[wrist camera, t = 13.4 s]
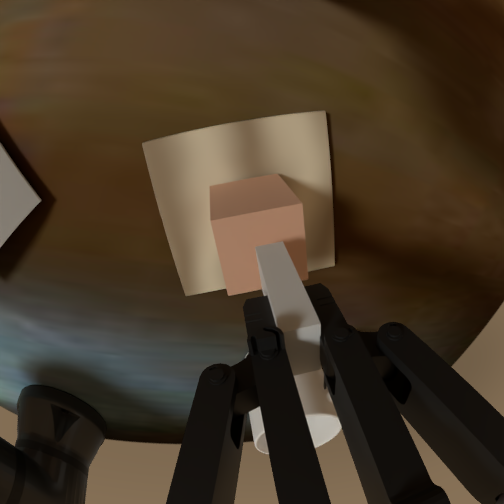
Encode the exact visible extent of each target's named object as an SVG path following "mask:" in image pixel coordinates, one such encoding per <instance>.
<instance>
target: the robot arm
mask: <svg viewBox="0 0 504 504" xmlns="http://www.w3.org/2000/svg"><path fill="white" fill-rule="evenodd" d="M255 250H256V256H257V262H258V268H259V274H260V280H261V286H262V290H263V294H264V296H262V297H257V298H252V299H247V300H246V301H245V304H244V306H243V311H244V316H245V322H246V328H247V334H248V339H247V343H248V347H249V353H248V355H247V356H246V358H245V359H244V360H242V361H241V362H239V363H238V364H235V365H233V366H231V367H230V366H228V365H227V364H221V363H220V364H213V365H211V366H209V367H207V368H206V369H205V370H204V371H203V372H202V374H201V376H200V378H199V382H198V386H197V389H196V393H195V396H194V400H193V404H192V407H191V411H190V415H189V418H188V422H187V426H186V430H185V433H184V437H183V441H182V444H181V448H180V452H179V456H178V460H177V463H176V467H175V471H174V475H173V479H172V482H171V486H170V490H169V494H168V498H167V502H166V504H234V500H235V493H236V487H237V481H238V473H239V467H240V461H241V454H242V446H243V440H244V434H245V427H246V420H247V413H248V412H250V411H252V410H254V409H256V408H258V407H260V410H261V415H262V420H263V425H264V431H265V436H266V441H267V446H268V451H269V456H270V462H271V467H272V472H273V477H274V481H275V487H276V491H277V496H278V501H279V504H331V502H330V499H329V495H328V492H327V488H326V485H325V482H324V478H323V475H322V471H321V468H320V464H319V461H318V457H317V454H316V450H315V447H314V444H313V440H312V437H311V433H310V430H309V426H308V423H307V420H306V416H305V413H304V409H303V406H302V403H301V399H300V396H299V392H298V389H297V386H296V382H295V379H294V376H295V375H300V374H304V373H308V372H312V371H316V370H320V369H321V364H322V367H323V369H324V384H323V386H324V389H326V387H327V388H328V391H329V394H330V397H331V399H332V402H333V405H334V408H335V410H336V413H337V416H338V419H339V421H340V424H341V427H342V430H343V432H344V435H345V438H346V441H347V444H348V446H349V449H350V452H351V455H352V458H353V461H354V464H355V466H356V470H357V472H358V475H359V478H360V481H361V484H362V487H363V490H364V493H365V496H366V499H367V502H368V504H450V501H449V499H448V496H447V495H446V493H445V491H444V490H443V489H442V488H441V487H440V486H437V485H435V484H434V483H433V482H432V480H431V479H430V476H429V474H428V472H427V470H426V467H425V465H424V463H423V461H422V459H421V456H420V454H419V452H418V450H417V448H416V445H415V444H414V441H413V439H412V437H411V435H410V433H409V431H408V429H407V427H406V425H405V422H404V420H403V418H402V416H401V414H402V415H403V416H404V418H405V419H406V420H407V421H408V422H409V423H410V424H411V426H412V427H413V428H414V429H415V430H416V431H417V433H418V434H419V435H420V436H421V437H422V438H423V439H424V441H425V442H426V443H427V444H428V445H429V446H430V447H431V449H432V450H433V451H434V452H435V453H436V454H437V455H438V457H439V458H440V459H441V460H442V461H443V462H444V464H445V465H446V466H447V467H448V468H449V469H450V470H451V472H452V473H453V474H454V475H455V476H456V477H457V479H458V480H459V481H460V482H461V483H462V484H463V485H464V487H465V488H466V489H467V490H468V491H469V493H470V494H471V495H472V496H473V497H474V498H475V499H476V500H477V501H479V502H480V503H481V504H504V417H503V416H502V415H501V414H500V413H499V412H498V411H497V410H496V409H495V408H494V407H493V406H492V405H491V404H490V403H489V402H488V401H487V400H485V399H484V398H483V397H482V396H481V395H480V394H479V393H478V392H477V391H476V390H475V389H474V388H473V387H472V386H471V385H470V384H469V383H468V382H467V381H466V380H464V379H463V378H462V377H461V376H460V375H459V374H458V373H457V372H456V371H455V370H454V369H453V368H452V367H451V366H449V365H448V364H447V363H446V362H445V361H444V360H443V359H442V358H441V357H440V356H439V355H437V354H436V353H435V352H434V351H433V350H432V349H431V348H430V347H429V346H428V345H426V344H425V343H424V342H423V341H422V340H421V339H420V338H419V337H417V336H416V335H415V334H414V333H413V332H412V331H411V330H410V329H408V328H407V327H406V326H404V325H403V324H401V323H397V322H389V323H386V324H384V325H382V326H381V327H380V328H379V331H378V332H360V331H357V330H356V329H355V328H354V327H353V326H351V325H349V324H347V322H346V320H345V318H344V317H343V315H342V313H341V311H340V309H339V307H338V306H337V304H336V303H335V300H334V298H333V297H332V295H331V293H330V291H329V289H328V288H327V287H325V286H324V285H322V284H321V283H319V284H315V285H310V286H306V287H304V286H303V284H302V281H301V279H300V277H299V275H298V273H297V271H296V268H295V266H294V264H293V262H292V260H291V258H290V256H289V254H288V251H287V249H286V247H285V245H284V243H283V241H281V242H276V243H271V244H266V245H261V246H256V247H255ZM17 410H18V425H17V426H18V427H17V430H18V431H17V432H18V436H17V440H16V444H15V447H14V446H13V445H11V444H10V443H9V442H7V441H6V440H4V439H3V438H1V437H0V504H85V496H86V488H87V478H88V470H89V466H90V464H91V462H92V460H93V459H94V457H95V455H96V453H97V451H98V449H99V447H100V446H101V445H102V443H103V442H104V439H105V434H106V424H105V421H104V420H103V418H102V417H101V416H100V415H99V414H98V413H97V412H96V411H95V410H94V409H93V408H91V407H90V406H88V405H87V404H86V403H84V402H82V401H81V400H79V399H77V398H75V397H73V396H71V395H69V394H67V393H65V392H62V391H59V390H56V389H53V388H50V387H45V386H39V385H31V386H27V387H25V388H23V389H22V391H21V393H20V396H19V399H18V402H17ZM400 413H401V414H400Z"/></svg>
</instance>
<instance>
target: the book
mask: <svg viewBox="0 0 504 504" xmlns="http://www.w3.org/2000/svg"><path fill="white" fill-rule="evenodd" d="M40 202H41V198H40V197H39V196H38V195H37V193H36V192H35V191H34V189H33V188H32V187H31V185H30V184H29V183H28V181H27V180H26V179H25V177H24V176H23V174H22V173H21V172H20V170H19V169H18V167H17V166H16V165H15V163H14V162H13V160H12V159H11V157H10V156H9V155H8V153H7V152H6V150H5V149H4V147H3V146H2V144H1V143H0V248H1V246H2V245H3V244H4V243H5V241H6V240H7V239H8V238H9V236H10V235H11V234H12V233H13V231H14V230H15V229H16V228H17V227H18V226H19V224H20V223H21V222H22V221H23V220H24V219H25V218H26V217H27V215H28V214H29V213H30V212H31V211H32V210H33V209H34V208H35V207H36V206H37V205H38V204H39V203H40Z"/></svg>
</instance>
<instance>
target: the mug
mask: <svg viewBox="0 0 504 504" xmlns="http://www.w3.org/2000/svg"><path fill="white" fill-rule="evenodd" d="M248 353H249V352H248ZM248 353H247V355H248ZM247 355H246V356H247ZM245 358H246V357H245ZM294 379H295V382H296V386H297V389H298V392H299V396H300V399H301V403H302V406H303V409H304V413H305V416H306V420H307V423H308V426H309V430H310V433H311V437H312V440H313V444H314V447H315V448H317V447H319V446H321V445H323V444H325V443H327V442H328V441H330V440H331V439H333V438H334V437H335V436H336V435H337V434H338V433H339V432H340V430H341V429H342V427H341V424H340V421H339V419H338V416H337V413H336V410H335V408H334V405H333V402H332V399H331V397H330V394H329V391H328V388H327V387H326V389H324V386H323V384H324V372H323V370H322V367H321V369H320V370H316V371H312V372H308V373H304V374H300V375H295V376H294ZM249 415H250V421H251V427H252V433H253V439H254V445H255V447H256V449H257V450H259V451H260V452H262V453H265V454H269V451H268V446H267V441H266V436H265V431H264V425H263V420H262V415H261V410H260V407H258V408H256V409H254V410H252V411H250V412H249Z"/></svg>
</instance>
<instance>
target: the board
mask: <svg viewBox="0 0 504 504" xmlns="http://www.w3.org/2000/svg"><path fill="white" fill-rule="evenodd" d="M142 146H143V150H144V154H145V158H146V162H147V166H148V170H149V174H150V178H151V182H152V185H153V189H154V193H155V197H156V200H157V204H158V207H159V211H160V214H161V218H162V221H163V225H164V228H165V232H166V235H167V238H168V242H169V245H170V248H171V251H172V255H173V258H174V261H175V264H176V267H177V270H178V274H179V277H180V280H181V283H182V286H183V289H184V292H185V295H186V296H189V295H194V294H200V293H205V292H210V291H215V290H220V289H226V285H225V281H224V277H223V272H222V268H221V264H220V260H219V256H218V251H217V247H216V243H215V239H214V234H213V230H212V226H211V221H210V186H213V185H218V184H223V183H228V182H233V181H238V180H243V179H249V178H254V177H260V176H265V175H271V174H278V175H279V176H280V177H281V178H282V180H283V181H284V182H285V183H286V184H287V185H288V187H289V188H290V189H291V190H292V191H293V193H294V194H295V195H296V196H297V197H298V199H299V200H300V201H301V202H302V205H303V216H304V228H305V240H306V253H307V268H308V271H313V270H317V269H322V268H326V267H331V266H335V249H334V217H333V196H332V179H331V165H330V152H329V141H328V130H327V120H326V111H313V112H303V113H294V114H285V115H277V116H270V117H263V118H256V119H250V120H244V121H238V122H232V123H226V124H221V125H216V126H211V127H206V128H201V129H196V130H192V131H187V132H183V133H178V134H174V135H170V136H166V137H162V138H158V139H154V140H150V141H146V142H143V143H142Z"/></svg>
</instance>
